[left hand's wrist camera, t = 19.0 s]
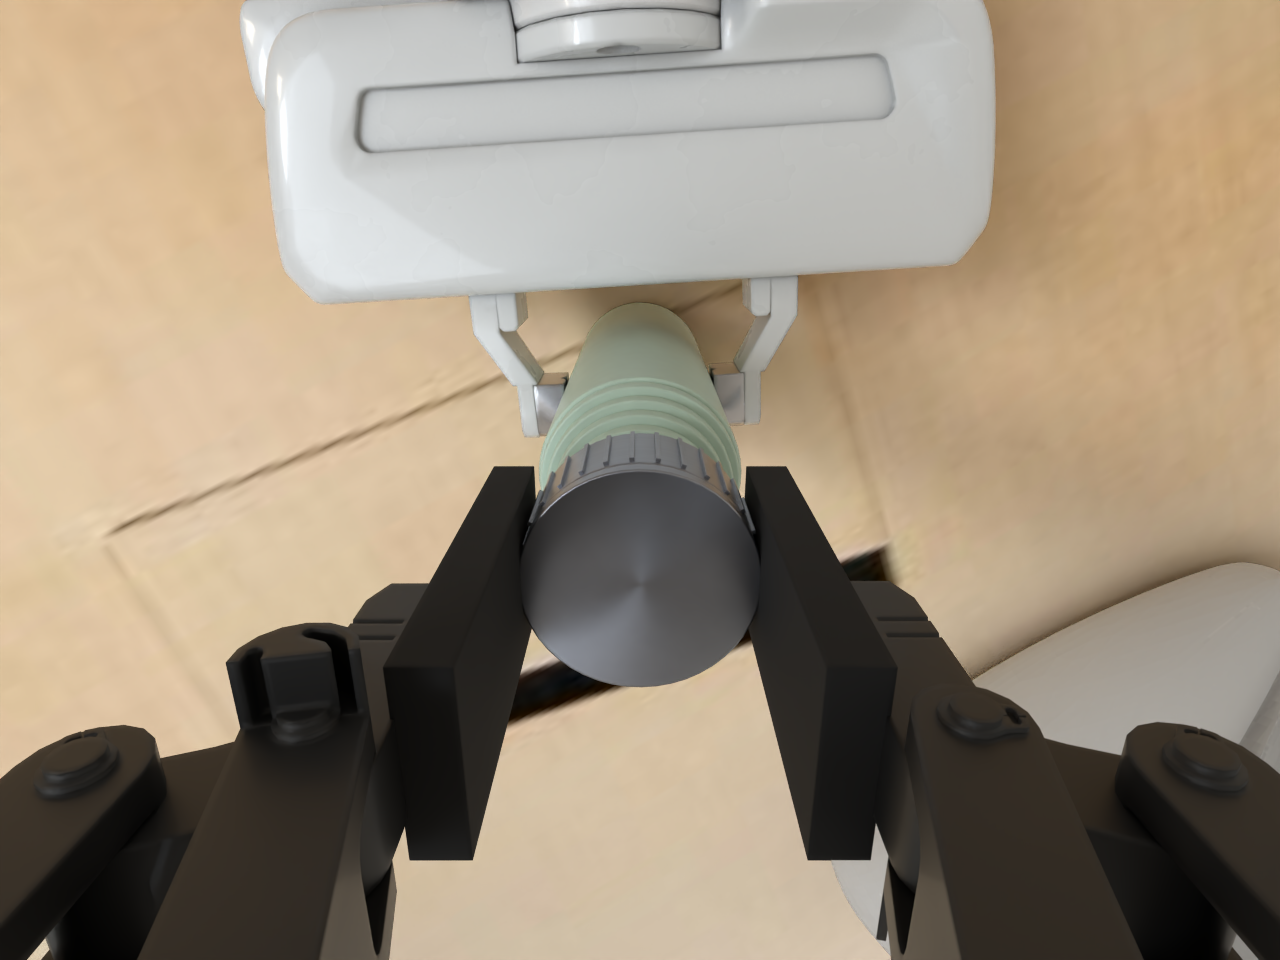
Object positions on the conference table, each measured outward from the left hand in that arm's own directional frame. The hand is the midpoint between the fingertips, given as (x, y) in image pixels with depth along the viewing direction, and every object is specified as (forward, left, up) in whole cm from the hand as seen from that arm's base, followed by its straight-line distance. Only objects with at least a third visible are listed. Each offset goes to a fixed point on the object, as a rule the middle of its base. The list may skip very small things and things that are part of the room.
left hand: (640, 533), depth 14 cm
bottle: (0, 0, -17) cm, 17 cm away
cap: (0, 0, +2) cm, 2 cm away
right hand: (-1, 0, -10) cm, 10 cm away
